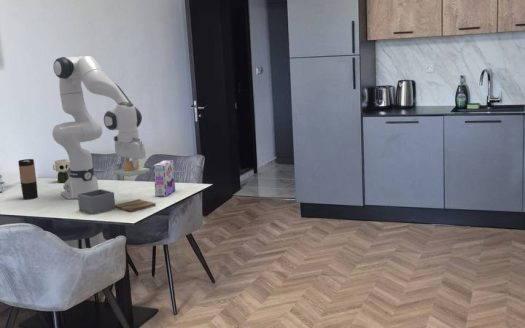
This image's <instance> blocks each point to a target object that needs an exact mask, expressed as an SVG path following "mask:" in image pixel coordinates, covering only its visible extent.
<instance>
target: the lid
mask: <svg viewBox="0 0 525 328" xmlns="http://www.w3.org/2000/svg"><path fill="white" fill-rule="evenodd" d="M132 163H133V160H132V159H131V160H130V161H126V162H125V161H123V168H122V169H121V168H120V169H115V170H113V173H114V174H117V176H118V175H119V176H123V177H128V178H129V177H133V176H140V175H144V174H147V173H148V172H150V171H151V168H147V167H143V166H140V164H139V159H138V160H137V163H136V164H137V167H135V168H133V167H132Z"/></svg>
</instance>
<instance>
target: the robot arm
mask: <svg viewBox="0 0 525 328" xmlns="http://www.w3.org/2000/svg"><path fill="white" fill-rule="evenodd" d="M53 72H54V74H55V75H56V77H57V78H59V80H58V82H59V85H58V86H59V95H60V101H61V107H62V110H63V113H66V114H67V115H70V116H72V117H73V119H74V121H67V122H66V121H65V122H62V123H59V124H57V125H54V127H53V129H52V131H51V132H52V138H53V140H54V141H55V142H56V143H57V144H58V145H60V146H62V148H63V149H64V151H66V153H67V156H68V162H70V167H69V169H70V170H69V169H68V171H69V172H68V178H69V179H68V180H66V182H64V184H63V185H62V186H63V187H62V188H63V190H64V191H61V192H60V194H59V195H60V196H62V197H64V198H66V199H67V200H73V199H78V194H80V193H85V192H90V191H94V190H99V188H100V187H99V183H98V178H97V177H96V176H95V169H94V165H93V159H92V158H93V157H92V156H93V155H92V153H91V152H90V151H89V150H87V149H84V148H82V146H81V143H84V142H92V141H96V140H97V139H99V138H101V136H102V135H103V127H102V124H101V123H100V122H99V120H96V119H95V118H93V116H92V115H91V114H90V113H89V111H88V109H87V106H86V102H85V99H84V92H83V87H82V83H83V85H84V87H85V88H86V89H87V91H89V92H90V93H92V94H94V95H98V96H103V97H107V98H110V99H112V100H114V102H115V103H116V106H115V107H114V108H112V109H110V110H108V111H106V112H105V113H104V116H103V124H104V126H105V128H107V129H108V130H110V131H118V134H117V135H115V136H113V141H114V150H115V151H114V152H115V155H116V156H117V157H120V158H121V157H122V158H123V160H124V162H126V161H132V160H133V163H132V167H133V168H135V167H137V164H136V163H137V160H138V161H139V160H143V159H145V158H146V150H145V145H144V143H143V141H142V140H141V139H140V138H139V129H138V127H139V126H140V125H141V123H142V121H143V120H142V119H143V115H142V113H141V111H140V110H139V108H137V107H136V106H135V105H134V104H133V103H132V102H131V100H130V99H129V97H128V96H127V95H126V94H125V92H124V91H123V89H122V88H121V87H120V86H119V85H118V83H115V82H114V81H113V80H111V79H110V77H108V76H107V75H106V73H105V72H104V70H103V68H102V67H101V65H100V63H98V61H97V60H96V59H95V58H94V57H93V56H90V55H85V56H84V55H82V56H81V55H74V56H61V57H58V58H56V59H55V60H54V63H53ZM130 159H131V160H130Z"/></svg>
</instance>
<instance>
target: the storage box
mask: <svg viewBox="0 0 525 328" xmlns="http://www.w3.org/2000/svg"><path fill="white" fill-rule="evenodd" d="M77 200H78V201H77V202H78V210H79V211H80V212H82V213H86V214H87V215H88V214H89V215H92V216H93V215H96V214H100V213H104V212H109V211H113V210H116V208H115V205H116V202H115V200H116V199H115V192H114V191H109V190H106V189H99V190H94V191H90V192H85V193H80V194H78V198H77Z"/></svg>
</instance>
